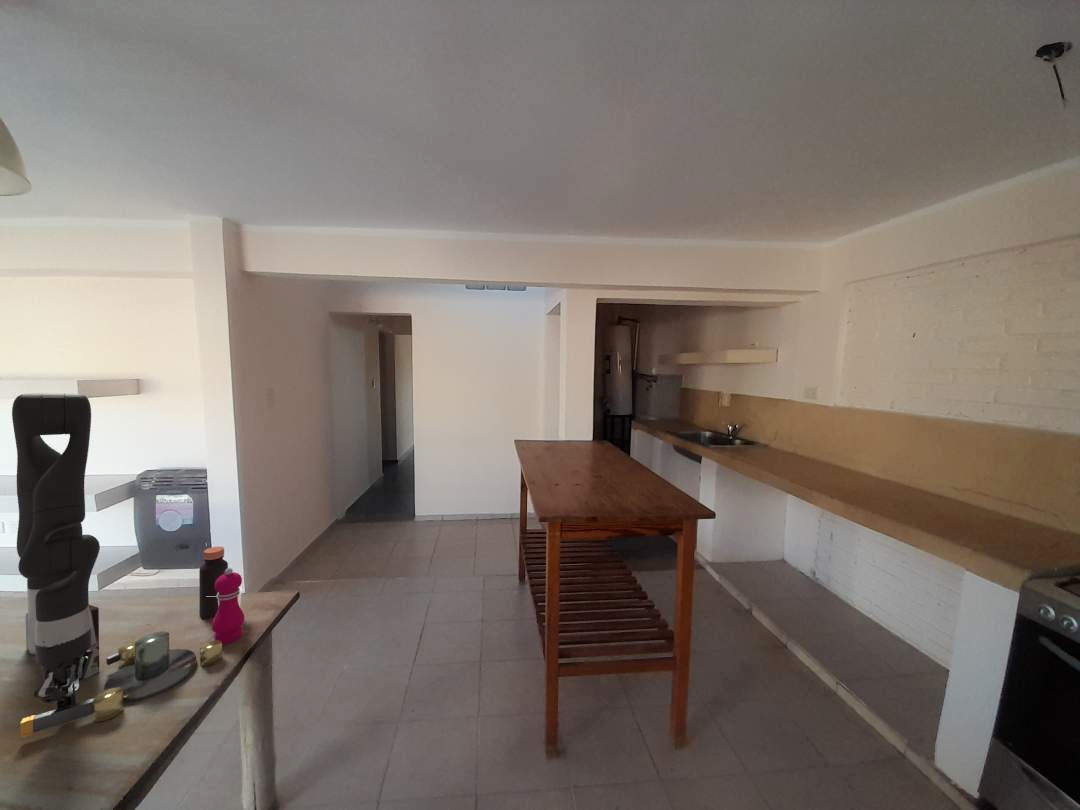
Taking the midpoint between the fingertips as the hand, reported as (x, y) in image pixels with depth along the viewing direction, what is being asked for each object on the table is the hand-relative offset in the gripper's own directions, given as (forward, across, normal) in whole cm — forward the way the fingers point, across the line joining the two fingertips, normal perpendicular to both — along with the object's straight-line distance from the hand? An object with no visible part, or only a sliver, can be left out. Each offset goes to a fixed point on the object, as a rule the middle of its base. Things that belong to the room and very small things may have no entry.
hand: (66, 710), depth 85 cm
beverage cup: (+3, -31, +19) cm, 36 cm away
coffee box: (+3, -16, -8) cm, 18 cm away
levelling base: (+2, -11, +10) cm, 15 cm away
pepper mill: (+3, -22, +21) cm, 31 cm away
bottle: (+3, -37, +13) cm, 39 cm away
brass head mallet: (+2, +2, +2) cm, 4 cm away
